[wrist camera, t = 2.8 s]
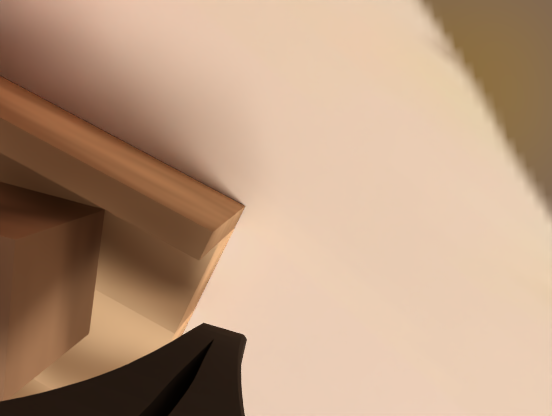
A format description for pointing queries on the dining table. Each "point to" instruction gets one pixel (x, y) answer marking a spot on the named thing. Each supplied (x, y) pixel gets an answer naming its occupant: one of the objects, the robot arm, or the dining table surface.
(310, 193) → the dining table surface
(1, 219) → the block
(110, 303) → the trap box
